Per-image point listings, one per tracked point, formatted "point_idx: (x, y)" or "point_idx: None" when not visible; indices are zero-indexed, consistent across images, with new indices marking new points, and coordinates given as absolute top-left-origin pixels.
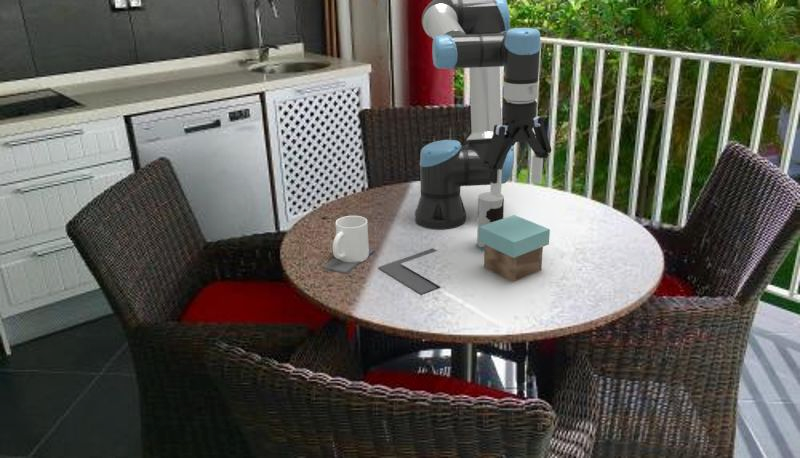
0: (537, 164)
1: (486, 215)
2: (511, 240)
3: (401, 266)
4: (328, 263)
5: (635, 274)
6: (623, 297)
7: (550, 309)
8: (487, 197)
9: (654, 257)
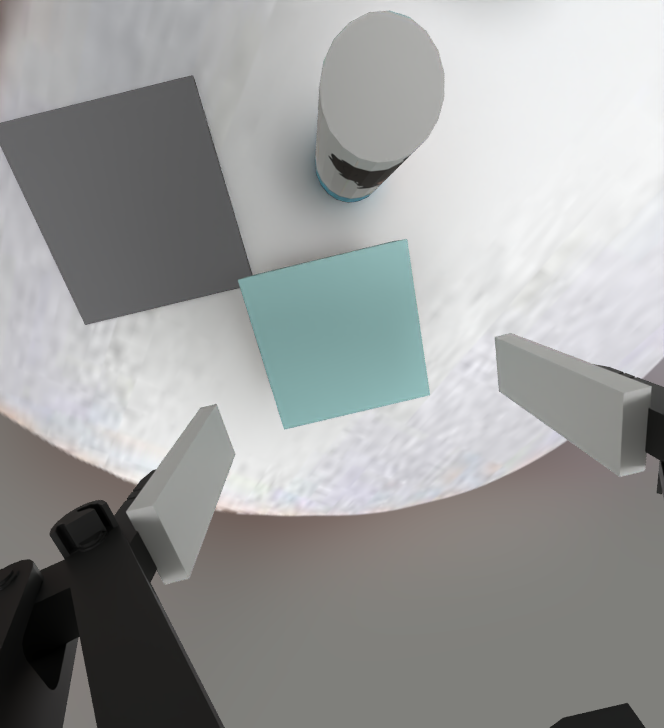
0: (576, 419)
1: (331, 158)
2: (282, 416)
3: (64, 157)
4: None
5: (538, 425)
6: (452, 481)
7: (313, 468)
8: (362, 92)
9: None
